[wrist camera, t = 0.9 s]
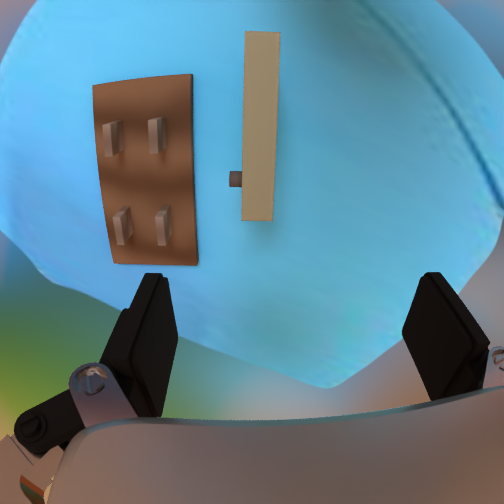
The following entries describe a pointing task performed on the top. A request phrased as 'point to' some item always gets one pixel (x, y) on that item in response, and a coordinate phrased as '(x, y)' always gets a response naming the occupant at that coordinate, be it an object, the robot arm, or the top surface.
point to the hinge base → (147, 168)
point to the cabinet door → (259, 125)
